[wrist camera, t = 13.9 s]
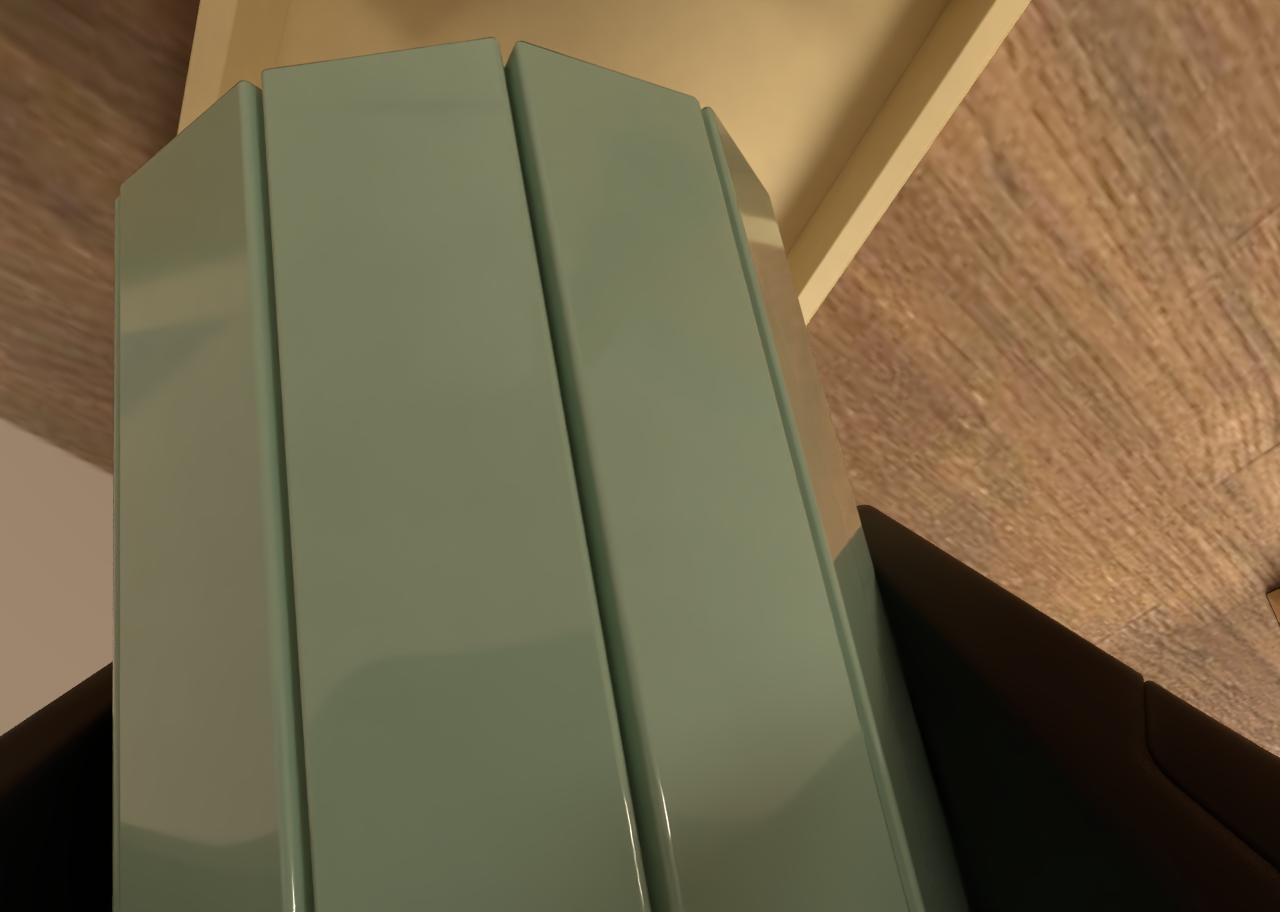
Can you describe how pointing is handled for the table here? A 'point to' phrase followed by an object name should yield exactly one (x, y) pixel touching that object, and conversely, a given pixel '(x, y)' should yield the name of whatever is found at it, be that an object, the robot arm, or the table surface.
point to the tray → (690, 80)
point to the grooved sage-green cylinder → (488, 517)
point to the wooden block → (1275, 602)
